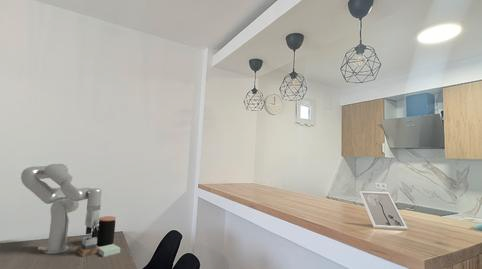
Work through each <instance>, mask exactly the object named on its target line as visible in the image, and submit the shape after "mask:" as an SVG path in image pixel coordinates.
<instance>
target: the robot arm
mask: <svg viewBox="0 0 482 269" xmlns="http://www.w3.org/2000/svg"><path fill="white" fill-rule="evenodd" d="M44 179H50V180H52V181H53V182H54V183H55V184H57V185H58V186H59V187H54V188H53V187H52V186H50V185H49V184H48V183H47V182H45V181H43V180H44ZM20 180H21V183H22V185H23V186H24V187H25V188H27V189H28V190H29V191H30V192H32V193H33V194H34V195H35V196H36V197H37V198H38V199H40V201H42V203H44V204H46V205H49V204H51V206H50V224H49V225H50V227H49V233H48V234H49V235H48V242H47V243H46V244H45V245H41V246H38V247H37V251H43V253H45V254H47V255H48V254H49V255H52V254H53V255H54V254H55V255H56V254H60V253H64V252H67V251H68V250H69V248H70V247H69V246H68V245H67V240H68V230H69V224H70V223H69V222H70V220H69V219H70V218H69V216H68V214H69V213H72V212H74V211H76V210H78V208H79V205H80V201H83V200H84V201H85V200H87V201H86V202H87V203H86V204H87V205H86V214H85V221H84V225H85V234H86V235H91V236H92V238H94V237H97V236H98V227H99V218H100V211H101V205H102V204H101V202H102V189H101V188H96V187H95V188H91V187H81V188H77V187H75V186H74V185H73V184H72V183H71V182H72V180H73V176H72V175H71V174H70V173H69V168H68V166H67V165H65V164H63V163H51V164H48V165H43V166H40V165H39V166H30V167H26V168H25V169H24V170H22V172H21V175H20Z"/></svg>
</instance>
